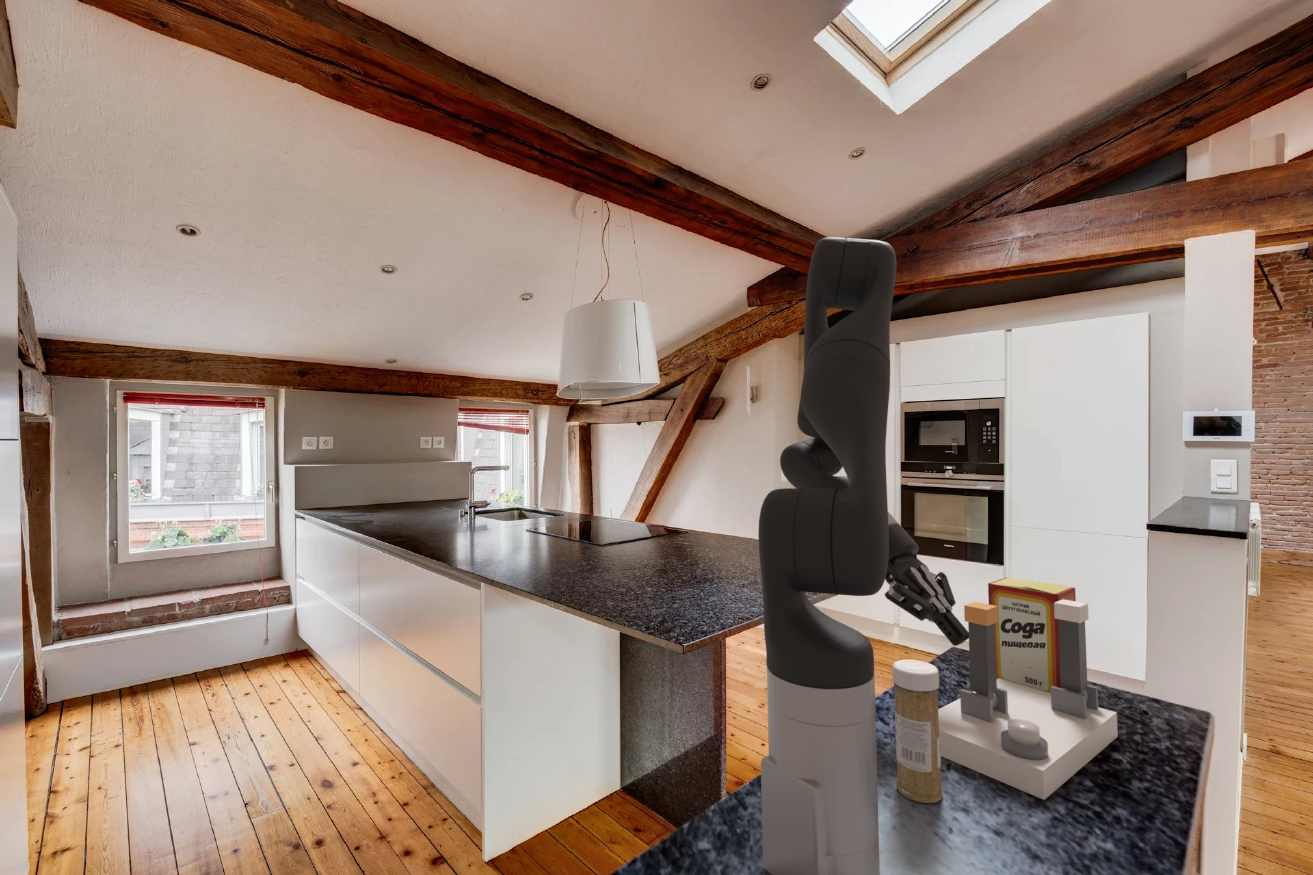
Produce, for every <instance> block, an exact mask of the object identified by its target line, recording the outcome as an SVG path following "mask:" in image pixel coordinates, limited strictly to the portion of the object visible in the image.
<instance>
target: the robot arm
mask: <svg viewBox="0 0 1313 875" xmlns="http://www.w3.org/2000/svg"><path fill="white" fill-rule="evenodd" d="M896 275H897V255H896V251H895V249H894V247H893V246H892V245H891V244H890V243H888V242H886V241H882V240H878V239H863V238H852V237H851V238H848V237H847V238H846V237H836V236H835V237H833V236H830V237H829V236H828V237H825V236H824V237H822V238H820V239H819V240H818V241H817V243H816V245H815V247H814V249H813V252H812V253H811V258H810V262H809V267H808V275H807V283H806V295H805V297H806V298H805V309H804V310H805V316H804V335H803V338H804V339H803V341H804V342H803V354H804V355H803V376H802V382H801V389H800V398H799V405H798V411H797V422H796V424H797V427H798V429H799V430H800V432H801V433H803V435H806V436H807V437H808V436H809V437H811V438H807V439H805V440H802V441H799V442H795V443H792V444H790V445H788V446H786V447H785V448H784V449H783V450H782V451H781V454H780V457H779V464H780V470H781V471H782V474H783V475H784V477H785V479H786V480H787V481H788V482H789V483H790V484H791V485H792V488H791V487H789V488H788V487H787V488H776V489H773V490H771V491H770V492H769V493H768V494H767V495H766V496H765V498H764V499H763V502H762V504H761V507H760V511H759V518H758V554H759V555H758V556H759V565H760V567H759V568H760V578H761V591H762V592H761V594H762V606H763V629H764V630H763V633H764V640H765V651H766V652H765V653H766V682H767V683H766V684H767V685H766V687H767V688H766V690H767V691H766V692H767V693H766V694H767V695H766V696H767V737H768V739H767V743H768V755H766V756H764V757H763V758H762V759H761V760H760V777H761V778H760V784H761V787H760V788H761V792H760V793H761V825H762V826H761V829H762V830H761V831H762V867H763V869H764V870H765V871H767V872H768V873H769V874H770V875H881V874H880V871H881V870H880V867H881V866H880V831H879V830H880V829H879V801H878V800H879V798H878V797H879V796H878V795H879V793H878V766H877V765H878V764H877V763H878V762H877V725H876V688H875V687H876V685H875V655H874V648H873V646H872V643H871V642H870V640H869V639H868V638H867V636H866V635H864V634H863V633H862V632H860V631H859V630H857V629H855V628H853V627H851V626H849V625H846V624H844V623H842V622H841V621H838V620H836V619H835V618H832V617H831V616H829V615H827V614H825V613H824V612H823V611H821V610H820V609H819V608H817V606H815V605H814V604H813V603H812V602H811V601H810V600H809V598H808V596H807V595H806V593H814V594H817V593H818V594H828V595H840V596H853V597H854V596H855V597H867V596H868V597H869V596H874V595H875V594H877V593H879V592H880V590H881V589H882V587H883V586H884V584H885V582H886V583H887V584H888V585H889V589H888V590H887V591H886V592H885V593H884V597H885V598H886V599H887V600H888V601H890V602H891V603H893V604H894V605H896V606H897V607H899V608H900V609H902V610H904V612H907V613H908V614H910V615H912V616H913V617H914V618H916V619H918V620H919V621H921V622H923V621H924V620H928V621H929V622H930V623H932V624H933V623H934V624H935V625H936V626H937V628H938V629H939V630H940V632H942V634H943V635H944V636H945V637H946V639H947V640H948V641H949V642H950V643H951V645H952V646H956V647H957V646H959V645H961V644H963V643H964V642H966V641H967V640H969V630H968V629H967V628H966V627H965V626H964V625H963V624H962V622H961V621H959V619H958V618H957V617H956V615H955V614H954V613H953V612H952V611H953V607H954V606H955V605H956V604H957V602H956V599H955V596H954V594H953V592H952V587H951V585H950V583H949V580H948V577H947V575H946V573H944V571H943V572H942V571H939V572H938V573H937V574H936V573H934V572H931V571H930V570H929V567H928V565H927V564H925V563H923V562H922V561H921V560H920V559H918V557H917V555H918V554H917V553H918V552H919V546H918V544H917V542H915V540H914V539H913V538H912V537H911V536H910V535H909V533H908V532H907V531H906V530H905V529H904V528H903V526H901V524H900V523H899V522H898V521H897V520H896V519H895V518H894V516H893V515H892V514H891V513H890V512H889V510H888V508H889V507H888V487H887V486H888V485H887V462H886V460H887V456H886V454H887V452H886V448H887V445H886V442H887V431H888V430H887V429H888V428H887V427H888V416H889V415H888V414H889V404H890V403H889V401H890V390H891V387H890V386H891V351H890V348H891V346H890V345H891V343H890V342H891V338H890V337H891V336H890V333H891V331H890V330H891V328H890V326H891V315H892V308H893V299H894V291H895V285H896V277H897V276H896ZM828 309H836V310H844V311H847V310H848V311H852V312H851V313H850V314H848V315H846V316H845V317H844V318H842V319H841V320H839V321H837V323H834V325H832V326H831V327H829V324H828ZM842 469H843V470H844V473H845V474H846V475H844V476H843V475H842V476H841V475H840V476H839V475H838V476H836V474H838V473H839V472H840V471H841V470H842Z"/></svg>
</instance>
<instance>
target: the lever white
mask: <svg viewBox="0 0 1313 875" xmlns="http://www.w3.org/2000/svg"><path fill="white" fill-rule="evenodd" d="M1054 616H1055V619H1058V627H1059V653H1060V679H1061V687H1062V688H1065V689H1067V690H1069V691H1073V692H1076V693H1080V694H1083V695H1086V702H1087V701H1088V699H1089V697H1088V694H1087V692H1086V691H1085V690H1086V689H1088V686H1087V684H1088V667H1087V637H1086V636H1087V635H1086V621H1088V620H1089V619H1090V618H1089V603H1085V602H1082V601H1070V600H1064V599H1062V600H1060V601H1057V602H1055V603H1054Z"/></svg>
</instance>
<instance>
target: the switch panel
mask: <svg viewBox="0 0 1313 875" xmlns="http://www.w3.org/2000/svg"><path fill="white" fill-rule="evenodd" d="M1087 686H1088V689H1086V690H1085V691H1086V692H1087V694H1088V697H1089V699H1088V701H1087V702H1086V695H1083V694H1080V693H1076V692H1073V691H1069V690H1067V689H1065V688H1064V689H1062V688H1058V687H1055V686H1052V687H1051V693H1048V692H1044V691H1041V690H1037V689H1034V688H1030V687H1027V686H1023V685H1020V684H1016V683H1013V682H1009V681H1006V680H1003V679H999V678H998V679H997V692H996V693H995V694H996V696H997V698H998V704H997V705H996V706H995V707H993V705H992V698H989V697H986V696H983V695H980V694H976V693H977V692H974V691H971V690H966V689H960V694H959V695H960V696H959V697H960V698H958V699H956V700H954V701H952V702H950V703H949V704H945V705H944V706H943V707H940V708H938V717H939V718H938V719H939V736H940V748H941V758H945V759H947V760H949V761H952V762H954V763H956V764H958V765H960V766H964V767H966V768H968V769H971V770H973V771H975V772H978V773H981V774H983V775H985V776H987V777H989V778H992V779H994V780H997V781H999V782H1001V783H1004V784H1006V785H1008V786H1010V787H1013V788H1014V789H1015V788H1016V789H1018V790H1020V791H1022V792H1024V793H1027V794H1030V795H1031V796H1034V797H1036V798H1038V799H1041V800H1043V801H1045V800H1046V799H1047V798H1049V796H1051V795H1052V794H1053V793H1055V791H1057V790H1058V789H1059V788H1060V787H1061V786H1063V785H1064V784H1065V783H1066V782H1067V781H1068V780H1070V778H1071V777H1073V776H1074V775H1076V773H1077V772H1078V771H1080V769H1082V768H1083V767H1084V766H1086V765H1087V764H1088V763H1089V762H1090V761H1091V760H1092V759H1093V758H1095V757H1096V756H1097V755H1098V754H1100V753H1101V752H1102V751H1103V750H1104V749H1105V748H1106V747H1108V746H1109V745H1110V744H1111V743H1112V742H1113V741H1114V740H1116V739H1117V738H1118V735H1119V734H1118V733H1119V732H1118V712H1116V711H1114V710H1109V709H1106V708H1103V707H1099V691H1098V690H1099V689H1098V688H1099V687H1098V686H1095V685H1091V684H1088V683H1087Z"/></svg>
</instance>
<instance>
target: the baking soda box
mask: <svg viewBox="0 0 1313 875" xmlns="http://www.w3.org/2000/svg"><path fill="white" fill-rule="evenodd" d="M987 589H988V590H987V593H988V604H989V605H994V606H998V622H997V623H995V650H996V679H998V678H999V679H1003V680H1006V681H1009V682H1013V683H1016V684H1020V685H1023V686H1027V687H1030V688H1034V689H1037V690H1041V691H1044V692H1048V693H1051V687H1052V686H1055V687H1058V688H1062V687H1061V679H1060V653H1059V627H1058V619H1055V616H1054V603H1055V602H1057V601H1060V600H1062V599H1064V600H1070V601H1076V600H1077V599H1076V587H1073V586H1067V585H1066V586H1065V585H1061V584H1054V583H1049V582H1043V581H1031V580H1025V579H1018V578H1013V577H1012V578H1011V577H1004V578H1000V579H997V580H995V581H992V582H988V583H987ZM1076 602H1077V601H1076ZM1012 663H1013V664H1012ZM1029 667H1032V668H1029ZM1062 689H1064V688H1062Z"/></svg>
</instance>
